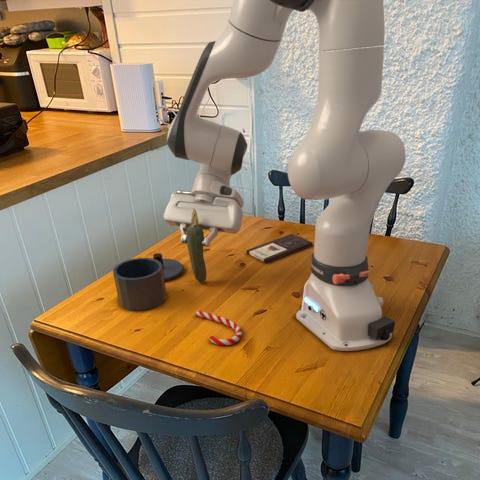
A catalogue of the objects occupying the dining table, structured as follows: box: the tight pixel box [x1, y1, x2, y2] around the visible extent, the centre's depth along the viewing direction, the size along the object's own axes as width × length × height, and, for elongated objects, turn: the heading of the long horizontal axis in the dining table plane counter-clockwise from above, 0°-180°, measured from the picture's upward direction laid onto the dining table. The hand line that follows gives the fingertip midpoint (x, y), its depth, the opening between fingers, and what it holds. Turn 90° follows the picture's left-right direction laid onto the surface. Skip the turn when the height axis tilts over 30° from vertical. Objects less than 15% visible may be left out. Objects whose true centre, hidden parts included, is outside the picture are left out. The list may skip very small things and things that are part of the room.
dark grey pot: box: [112, 257, 167, 312], centre depth 114 cm, size 12×12×8 cm
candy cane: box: [195, 310, 243, 346], centre depth 104 cm, size 8×1×15 cm
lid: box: [152, 252, 184, 281], centre depth 127 cm, size 13×13×5 cm
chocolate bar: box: [246, 233, 313, 264], centre depth 138 cm, size 9×1×18 cm
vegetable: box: [186, 208, 208, 284], centre depth 117 cm, size 4×4×20 cm
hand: (194, 244), depth 116 cm, fingers open, 5 cm apart
